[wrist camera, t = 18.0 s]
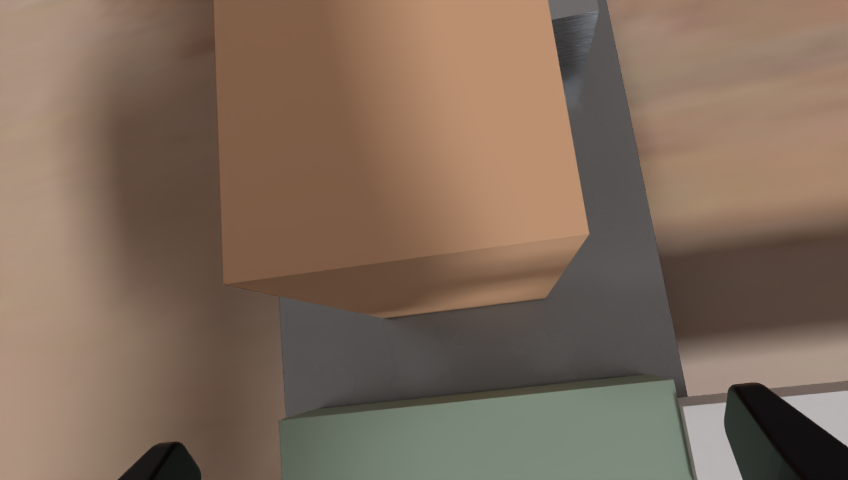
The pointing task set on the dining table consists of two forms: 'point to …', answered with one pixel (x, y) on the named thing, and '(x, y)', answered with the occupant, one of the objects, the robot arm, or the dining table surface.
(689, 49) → the dining table surface
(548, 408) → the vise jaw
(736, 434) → the robot arm
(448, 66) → the tan rectangular block
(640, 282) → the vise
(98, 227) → the dining table surface
